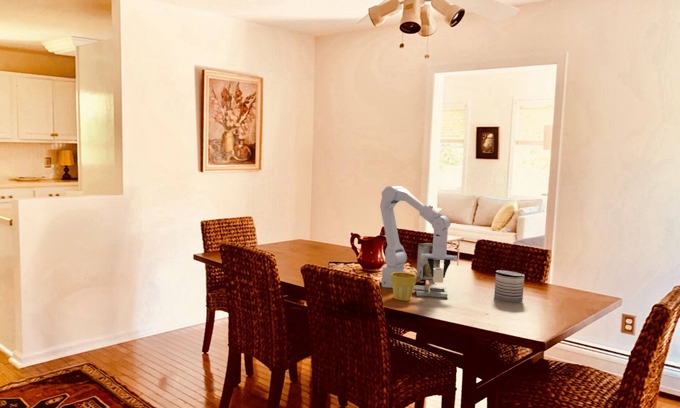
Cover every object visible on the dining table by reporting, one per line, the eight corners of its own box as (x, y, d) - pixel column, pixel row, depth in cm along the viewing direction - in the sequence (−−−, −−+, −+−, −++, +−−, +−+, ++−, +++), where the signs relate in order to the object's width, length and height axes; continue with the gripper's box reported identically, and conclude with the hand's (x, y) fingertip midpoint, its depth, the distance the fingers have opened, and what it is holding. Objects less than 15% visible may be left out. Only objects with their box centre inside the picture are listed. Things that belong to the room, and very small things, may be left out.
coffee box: (433, 275, 270) (435, 242, 268) (439, 279, 264) (441, 245, 262) (415, 276, 267) (417, 243, 265) (422, 279, 261) (424, 245, 259)
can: (488, 297, 234) (490, 269, 232) (509, 295, 238) (511, 268, 237) (506, 305, 223) (508, 275, 222) (528, 303, 228) (531, 274, 226)
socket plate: (416, 296, 230) (416, 291, 230) (416, 290, 241) (416, 285, 241) (447, 298, 229) (447, 294, 229) (445, 292, 240) (446, 287, 239)
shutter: (413, 290, 233) (413, 283, 232) (413, 286, 239) (413, 279, 239) (428, 291, 232) (429, 284, 231) (428, 287, 238) (428, 280, 238)
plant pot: (417, 296, 230) (418, 273, 229) (412, 303, 220) (413, 278, 219) (393, 293, 234) (394, 270, 233) (386, 299, 224) (388, 275, 223)
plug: (433, 282, 232) (433, 268, 231) (432, 279, 236) (433, 266, 235) (442, 282, 232) (443, 269, 231) (442, 280, 235) (443, 267, 235)
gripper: (422, 245, 229) (420, 277, 231) (458, 247, 228) (456, 280, 229) (422, 242, 236) (420, 274, 238) (457, 244, 235) (455, 276, 236)
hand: (437, 276), depth 234 cm, fingers closed on plug, 4 cm apart
